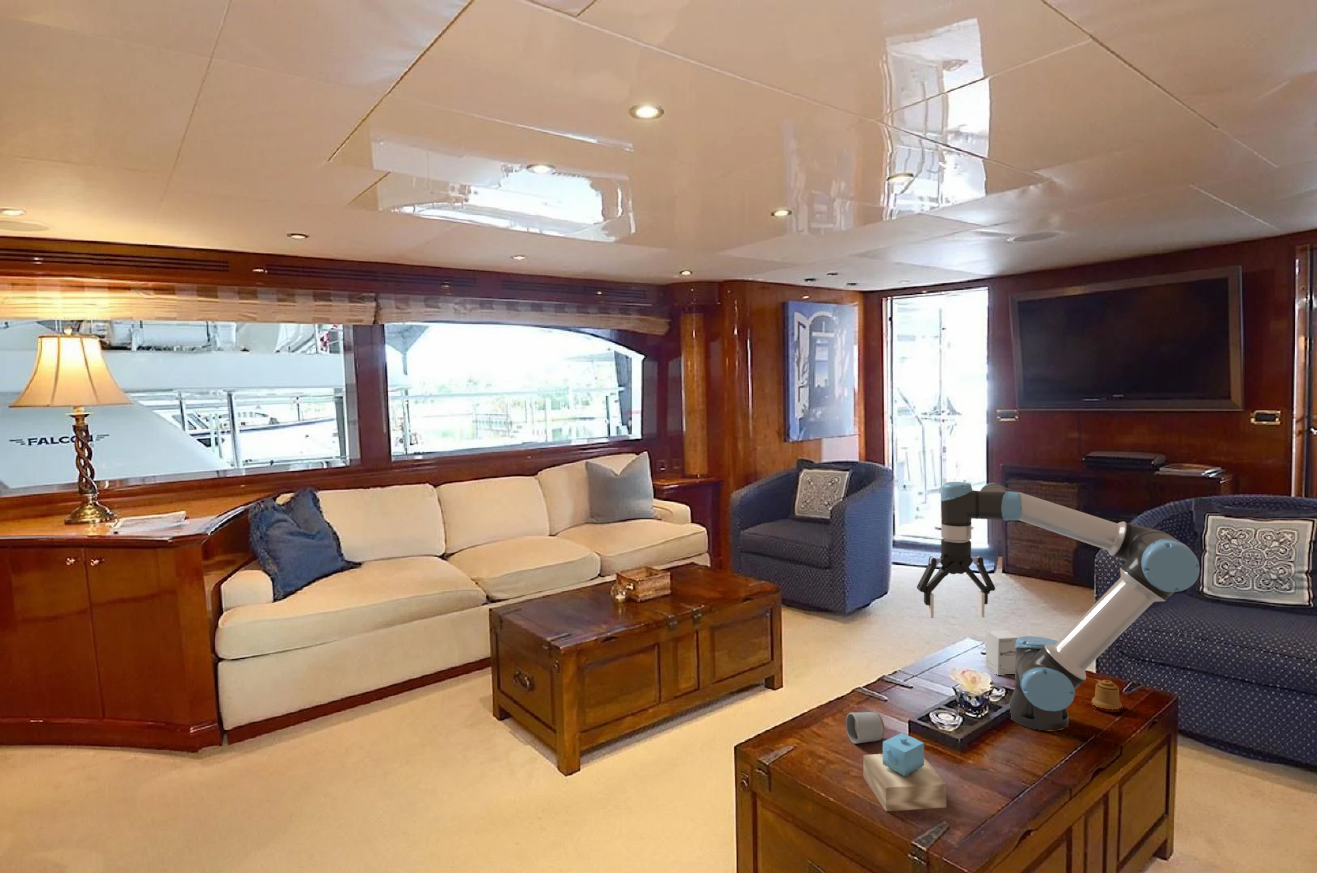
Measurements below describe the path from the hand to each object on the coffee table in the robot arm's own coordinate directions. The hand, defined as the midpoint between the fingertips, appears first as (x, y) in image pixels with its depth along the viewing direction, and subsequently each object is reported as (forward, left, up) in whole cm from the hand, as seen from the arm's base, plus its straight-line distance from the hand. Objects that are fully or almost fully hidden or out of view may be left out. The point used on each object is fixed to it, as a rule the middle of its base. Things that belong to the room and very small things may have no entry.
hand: (955, 616), depth 192 cm
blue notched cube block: (+24, +30, -26) cm, 47 cm away
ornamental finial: (-48, -11, -32) cm, 59 cm away
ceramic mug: (+27, +5, -32) cm, 42 cm away
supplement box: (-30, -38, -32) cm, 58 cm away
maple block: (+24, +30, -32) cm, 50 cm away
